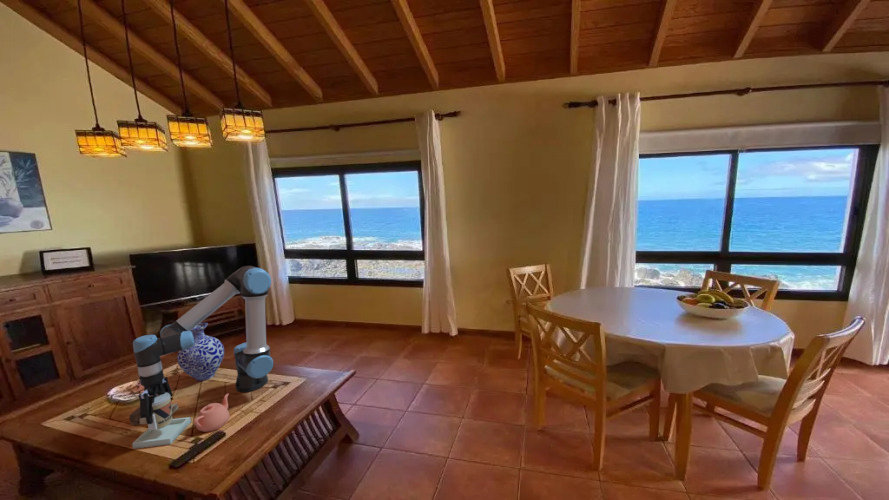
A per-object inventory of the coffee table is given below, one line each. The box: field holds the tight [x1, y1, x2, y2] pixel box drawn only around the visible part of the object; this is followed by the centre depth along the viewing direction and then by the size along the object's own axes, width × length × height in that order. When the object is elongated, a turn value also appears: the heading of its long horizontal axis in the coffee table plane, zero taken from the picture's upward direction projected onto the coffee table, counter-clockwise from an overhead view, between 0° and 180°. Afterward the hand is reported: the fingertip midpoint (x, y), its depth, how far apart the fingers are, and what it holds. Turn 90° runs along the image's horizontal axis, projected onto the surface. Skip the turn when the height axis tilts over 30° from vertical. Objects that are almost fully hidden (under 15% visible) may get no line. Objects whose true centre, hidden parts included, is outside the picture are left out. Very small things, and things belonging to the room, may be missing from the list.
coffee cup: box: [152, 392, 173, 430], centre depth 145 cm, size 9×9×12 cm
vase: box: [177, 322, 225, 382], centre depth 192 cm, size 22×22×30 cm
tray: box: [131, 416, 192, 450], centre depth 147 cm, size 14×14×2 cm
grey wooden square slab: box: [139, 403, 179, 425], centre depth 160 cm, size 10×10×3 cm
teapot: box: [192, 393, 230, 433], centre depth 153 cm, size 12×18×10 cm
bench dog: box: [129, 406, 141, 426], centre depth 159 cm, size 3×10×5 cm, turn 7°
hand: (160, 422), depth 146 cm, fingers closed on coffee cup, 8 cm apart
